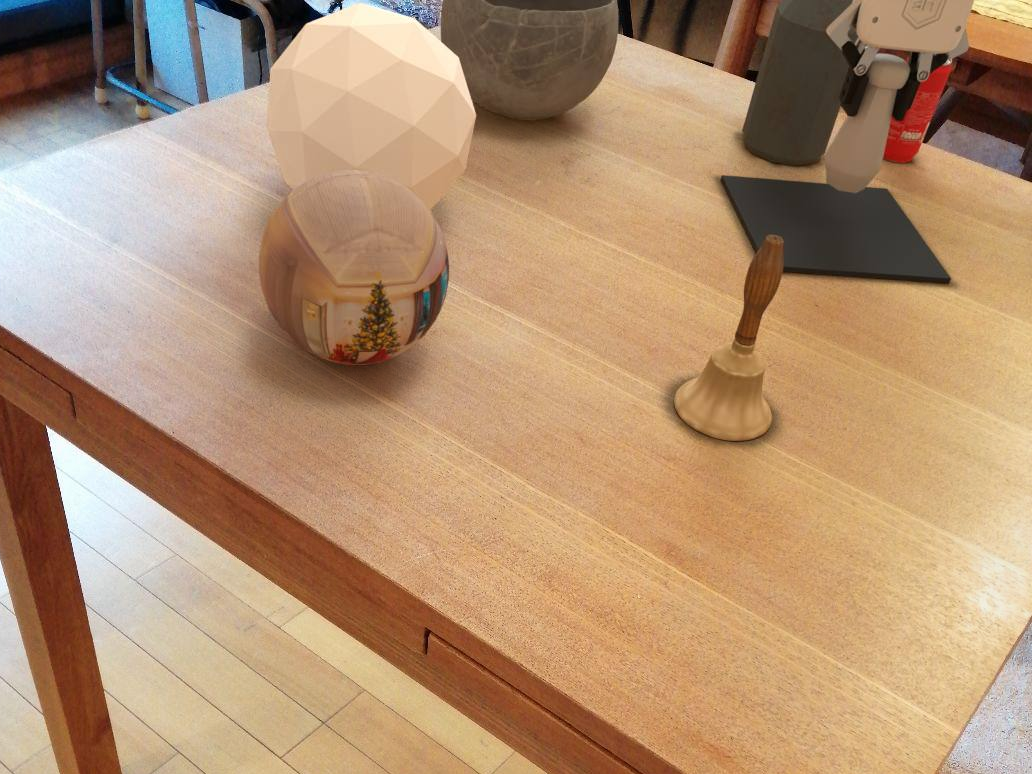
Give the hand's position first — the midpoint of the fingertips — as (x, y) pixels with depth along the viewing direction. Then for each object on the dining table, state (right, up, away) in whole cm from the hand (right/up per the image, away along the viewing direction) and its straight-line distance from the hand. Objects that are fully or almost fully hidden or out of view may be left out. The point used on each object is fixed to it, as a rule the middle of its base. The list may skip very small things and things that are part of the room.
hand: (871, 111), depth 110 cm
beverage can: (+12, +5, +26) cm, 29 cm away
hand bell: (-19, -32, -18) cm, 42 cm away
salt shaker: (-1, -6, +5) cm, 8 cm away
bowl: (-35, +9, +23) cm, 43 cm away
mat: (-1, -9, +9) cm, 13 cm away
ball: (-51, -10, -1) cm, 52 cm away
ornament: (-50, -27, -18) cm, 60 cm away
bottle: (-3, +4, +23) cm, 24 cm away
